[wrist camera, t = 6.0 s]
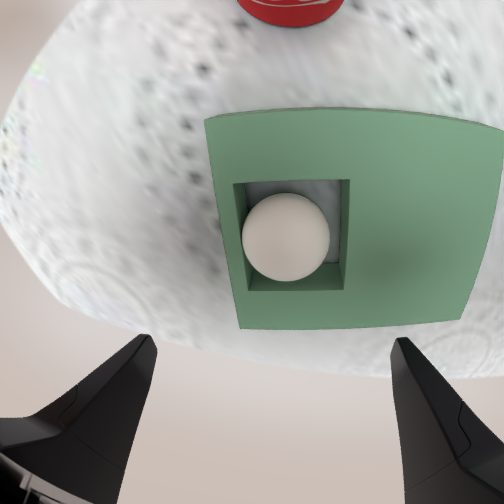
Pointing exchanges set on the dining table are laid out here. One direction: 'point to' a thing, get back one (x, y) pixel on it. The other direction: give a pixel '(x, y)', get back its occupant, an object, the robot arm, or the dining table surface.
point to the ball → (286, 237)
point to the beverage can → (291, 11)
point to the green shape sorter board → (363, 212)
